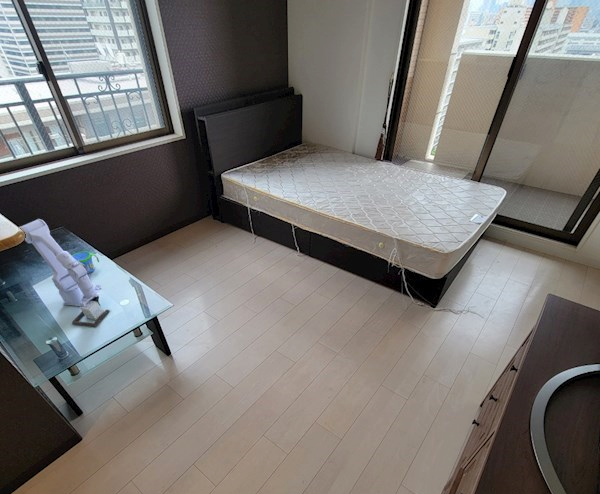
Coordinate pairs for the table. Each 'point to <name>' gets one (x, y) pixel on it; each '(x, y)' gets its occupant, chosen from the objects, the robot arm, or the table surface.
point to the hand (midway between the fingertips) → (97, 308)
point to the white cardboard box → (92, 310)
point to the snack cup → (85, 260)
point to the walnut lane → (76, 321)
